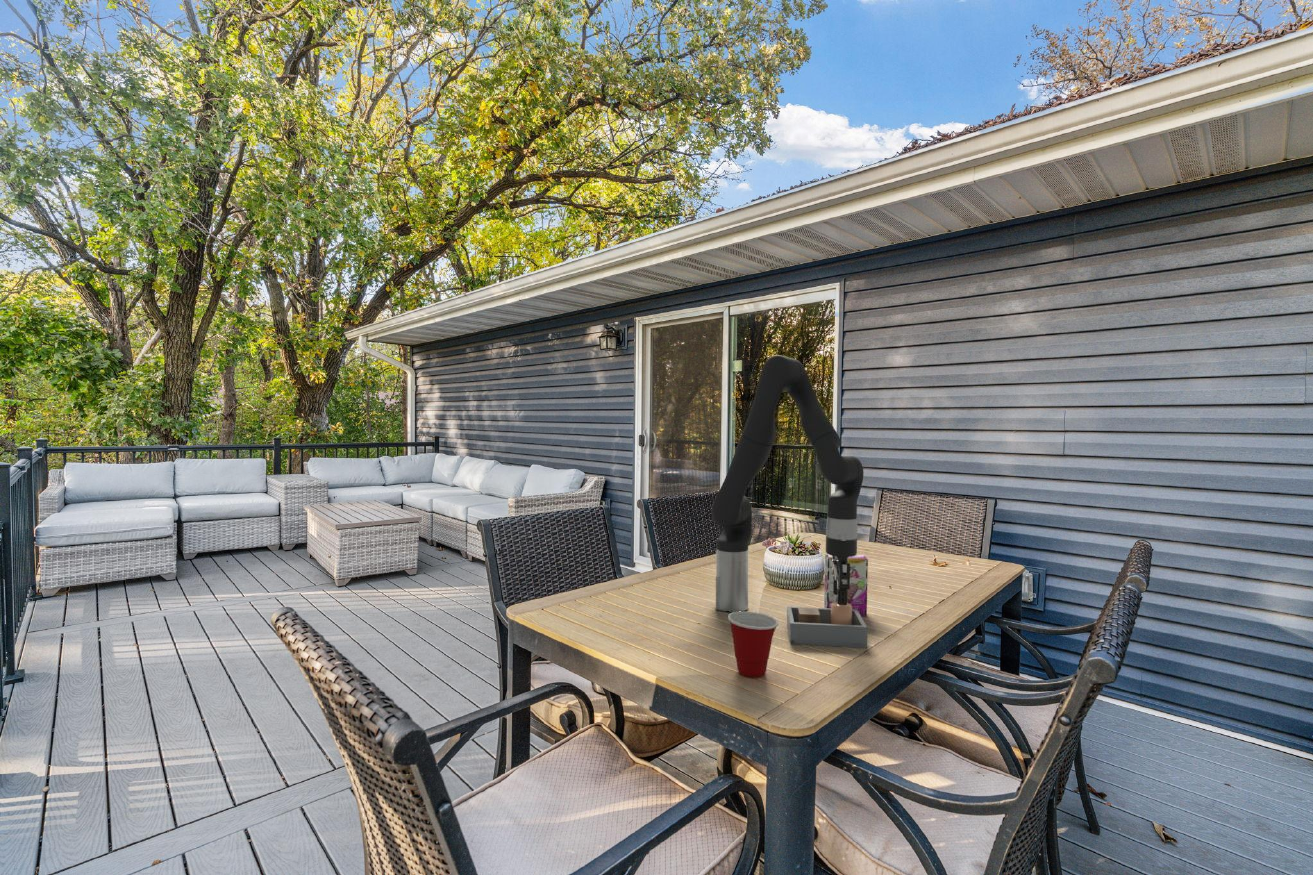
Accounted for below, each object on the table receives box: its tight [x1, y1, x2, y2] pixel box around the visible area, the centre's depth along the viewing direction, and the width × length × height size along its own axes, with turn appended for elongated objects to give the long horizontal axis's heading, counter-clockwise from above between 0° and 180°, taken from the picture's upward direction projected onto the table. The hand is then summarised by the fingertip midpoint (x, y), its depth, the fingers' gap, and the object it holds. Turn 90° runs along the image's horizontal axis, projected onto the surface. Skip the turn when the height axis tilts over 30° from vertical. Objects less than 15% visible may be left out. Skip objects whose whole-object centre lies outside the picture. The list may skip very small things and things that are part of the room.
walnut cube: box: [798, 608, 820, 624], centre depth 153 cm, size 5×5×5 cm
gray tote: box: [786, 606, 868, 649], centre depth 152 cm, size 18×14×5 cm
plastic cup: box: [727, 611, 779, 679], centre depth 130 cm, size 11×11×12 cm
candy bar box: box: [823, 553, 869, 617], centre depth 171 cm, size 11×5×16 cm, turn 84°
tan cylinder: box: [831, 602, 852, 625], centre depth 152 cm, size 5×5×7 cm
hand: (839, 599), depth 152 cm, fingers open, 8 cm apart
